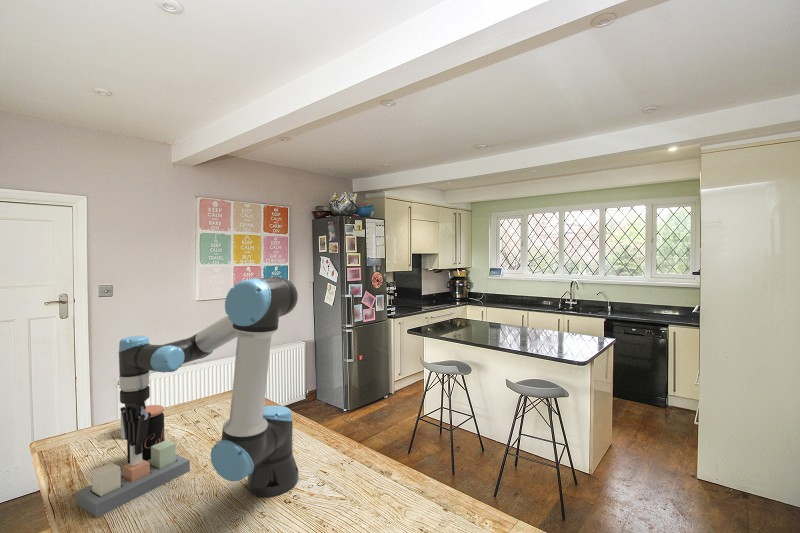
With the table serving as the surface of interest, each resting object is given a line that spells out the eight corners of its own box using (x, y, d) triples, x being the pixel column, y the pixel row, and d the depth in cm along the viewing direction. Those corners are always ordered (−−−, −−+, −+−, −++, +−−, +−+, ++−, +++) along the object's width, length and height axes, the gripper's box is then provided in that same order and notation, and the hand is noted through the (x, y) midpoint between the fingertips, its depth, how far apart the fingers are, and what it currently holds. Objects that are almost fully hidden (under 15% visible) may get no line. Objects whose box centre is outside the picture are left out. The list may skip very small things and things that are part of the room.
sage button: (175, 461, 126) (175, 443, 125) (159, 469, 121) (159, 450, 121) (167, 457, 128) (166, 440, 128) (151, 464, 124) (150, 446, 124)
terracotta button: (150, 481, 119) (149, 462, 119) (132, 490, 114) (131, 470, 114) (141, 477, 121) (140, 458, 121) (123, 485, 117) (123, 466, 117)
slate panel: (189, 470, 126) (189, 460, 126) (96, 517, 103) (96, 504, 103) (168, 461, 132) (168, 451, 132) (76, 503, 109) (75, 491, 109)
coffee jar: (146, 473, 125) (145, 418, 124) (119, 469, 127) (118, 415, 127) (172, 456, 135) (171, 405, 135) (146, 453, 137) (145, 403, 137)
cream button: (120, 487, 112) (120, 466, 112) (100, 496, 107) (100, 475, 107) (112, 482, 114) (111, 462, 114) (92, 491, 110) (91, 470, 110)
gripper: (159, 387, 117) (160, 463, 118) (136, 380, 123) (138, 452, 124) (132, 395, 111) (134, 475, 111) (110, 387, 117) (111, 463, 118)
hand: (136, 463), depth 118 cm, fingers closed
